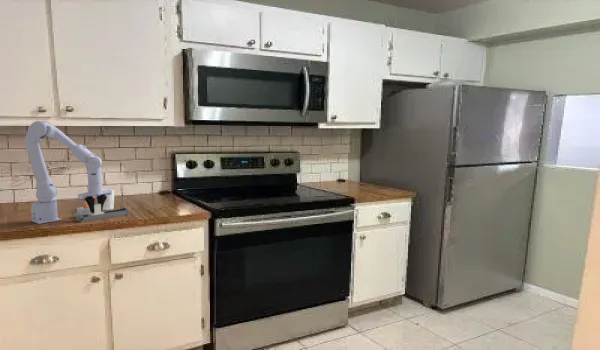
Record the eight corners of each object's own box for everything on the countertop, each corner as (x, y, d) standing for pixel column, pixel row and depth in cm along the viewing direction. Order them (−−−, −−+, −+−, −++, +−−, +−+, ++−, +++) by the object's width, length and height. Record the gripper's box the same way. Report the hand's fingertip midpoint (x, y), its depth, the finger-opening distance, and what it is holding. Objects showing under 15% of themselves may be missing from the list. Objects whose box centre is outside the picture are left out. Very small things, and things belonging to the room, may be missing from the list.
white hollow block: (82, 218, 186) (82, 209, 186) (77, 216, 189) (77, 208, 188) (95, 215, 191) (95, 207, 190) (90, 214, 194) (90, 206, 193)
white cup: (96, 210, 201) (95, 191, 200) (99, 207, 209) (98, 188, 208) (113, 210, 203) (112, 190, 202) (116, 207, 211) (115, 188, 210)
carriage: (91, 217, 183) (91, 205, 182) (88, 216, 185) (87, 204, 184) (104, 215, 188) (104, 203, 187) (101, 214, 189) (100, 202, 189)
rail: (81, 222, 178) (80, 215, 178) (76, 220, 181) (75, 213, 181) (128, 214, 196) (127, 207, 195) (122, 212, 199) (122, 206, 198)
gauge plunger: (84, 212, 188) (84, 203, 187) (82, 211, 189) (82, 202, 189) (90, 211, 190) (89, 202, 189) (87, 210, 191) (87, 201, 191)
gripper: (82, 185, 176) (84, 215, 178) (114, 182, 188) (116, 210, 189) (75, 183, 180) (76, 213, 182) (107, 180, 192) (108, 208, 193)
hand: (96, 211), depth 186 cm, fingers closed on carriage, 3 cm apart
